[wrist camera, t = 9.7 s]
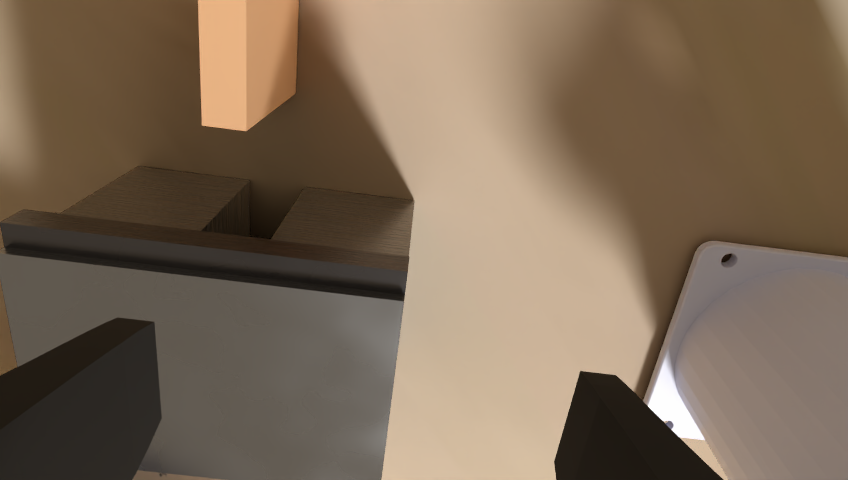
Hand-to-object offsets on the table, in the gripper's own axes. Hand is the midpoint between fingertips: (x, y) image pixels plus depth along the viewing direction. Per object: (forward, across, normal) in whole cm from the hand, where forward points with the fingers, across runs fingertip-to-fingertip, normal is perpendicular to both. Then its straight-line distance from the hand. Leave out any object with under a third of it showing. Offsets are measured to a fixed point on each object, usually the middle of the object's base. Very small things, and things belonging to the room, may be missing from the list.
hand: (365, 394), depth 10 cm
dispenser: (+10, +4, +3) cm, 11 cm away
